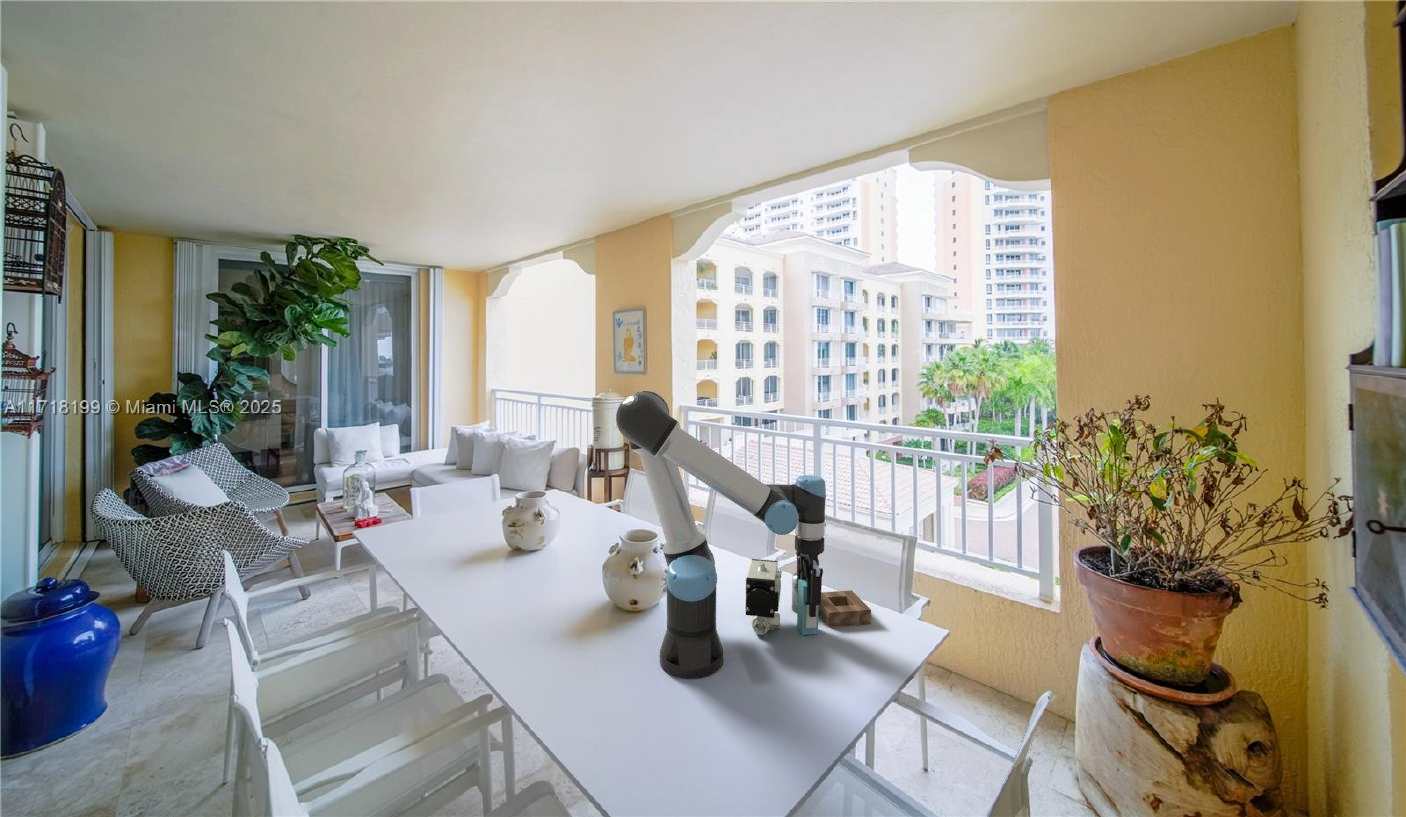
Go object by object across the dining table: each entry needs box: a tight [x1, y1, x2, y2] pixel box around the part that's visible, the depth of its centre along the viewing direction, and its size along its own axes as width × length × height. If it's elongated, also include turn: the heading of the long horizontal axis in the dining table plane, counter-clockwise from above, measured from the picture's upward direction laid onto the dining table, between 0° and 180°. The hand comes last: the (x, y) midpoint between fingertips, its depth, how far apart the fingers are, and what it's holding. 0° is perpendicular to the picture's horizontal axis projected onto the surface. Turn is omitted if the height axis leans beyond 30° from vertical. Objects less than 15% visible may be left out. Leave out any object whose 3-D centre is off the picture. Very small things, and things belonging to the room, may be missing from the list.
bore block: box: [818, 589, 872, 628], centre depth 144 cm, size 12×12×4 cm
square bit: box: [796, 579, 819, 636], centre depth 135 cm, size 4×4×13 cm
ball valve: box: [745, 558, 783, 636], centre depth 136 cm, size 18×8×18 cm, turn 168°
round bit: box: [791, 572, 798, 614], centre depth 147 cm, size 5×5×10 cm
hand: (807, 622), depth 136 cm, fingers closed on square bit, 4 cm apart
